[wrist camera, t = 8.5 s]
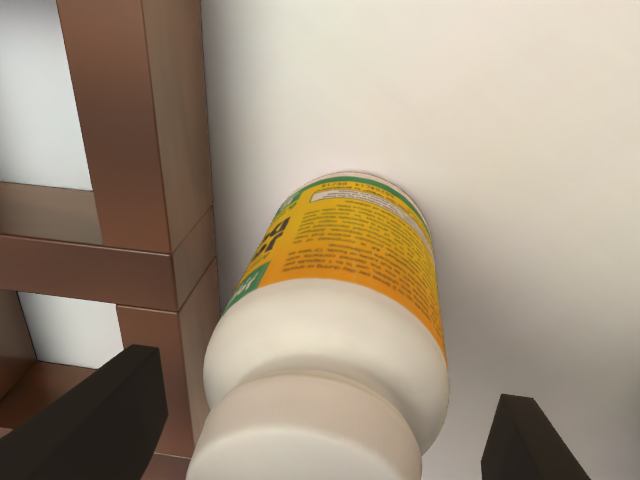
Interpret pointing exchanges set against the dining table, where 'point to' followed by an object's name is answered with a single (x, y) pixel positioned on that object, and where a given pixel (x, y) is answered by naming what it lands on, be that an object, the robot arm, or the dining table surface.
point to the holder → (123, 216)
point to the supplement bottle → (329, 344)
